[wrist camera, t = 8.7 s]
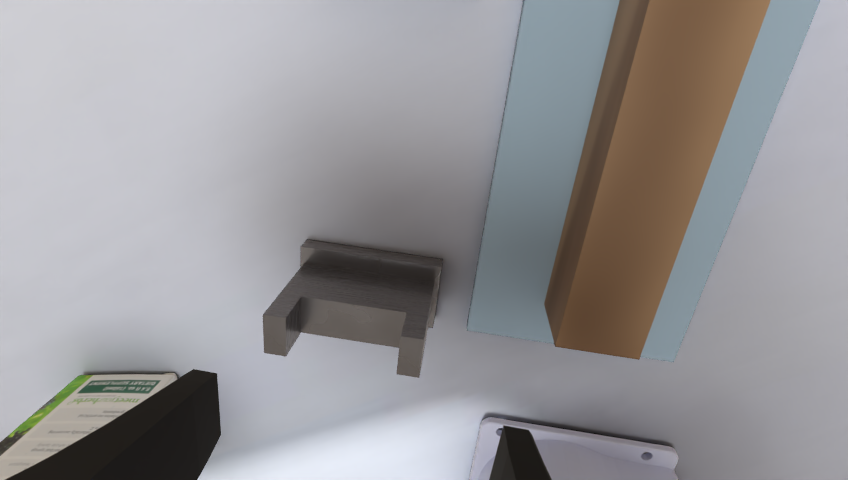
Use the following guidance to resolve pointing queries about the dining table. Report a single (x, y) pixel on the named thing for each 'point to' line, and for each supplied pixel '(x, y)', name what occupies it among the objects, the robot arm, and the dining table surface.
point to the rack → (357, 300)
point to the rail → (645, 164)
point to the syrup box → (75, 416)
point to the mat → (561, 151)
